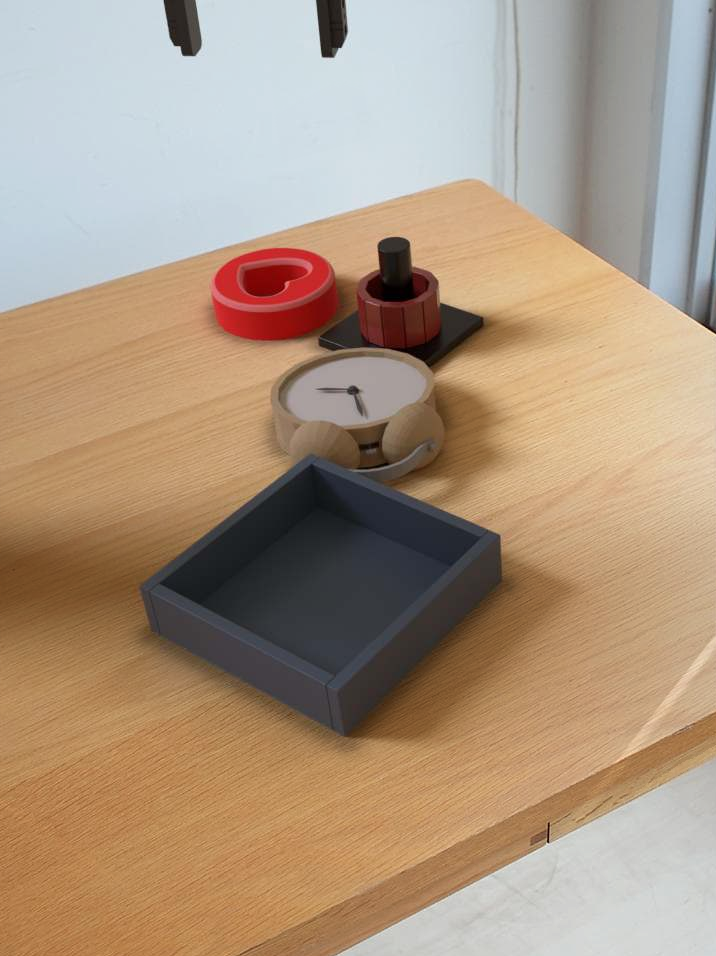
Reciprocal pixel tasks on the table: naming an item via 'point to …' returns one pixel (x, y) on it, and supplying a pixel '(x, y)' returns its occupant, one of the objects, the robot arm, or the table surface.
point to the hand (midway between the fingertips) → (261, 53)
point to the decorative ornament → (268, 272)
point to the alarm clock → (359, 411)
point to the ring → (399, 312)
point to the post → (399, 289)
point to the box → (324, 590)
